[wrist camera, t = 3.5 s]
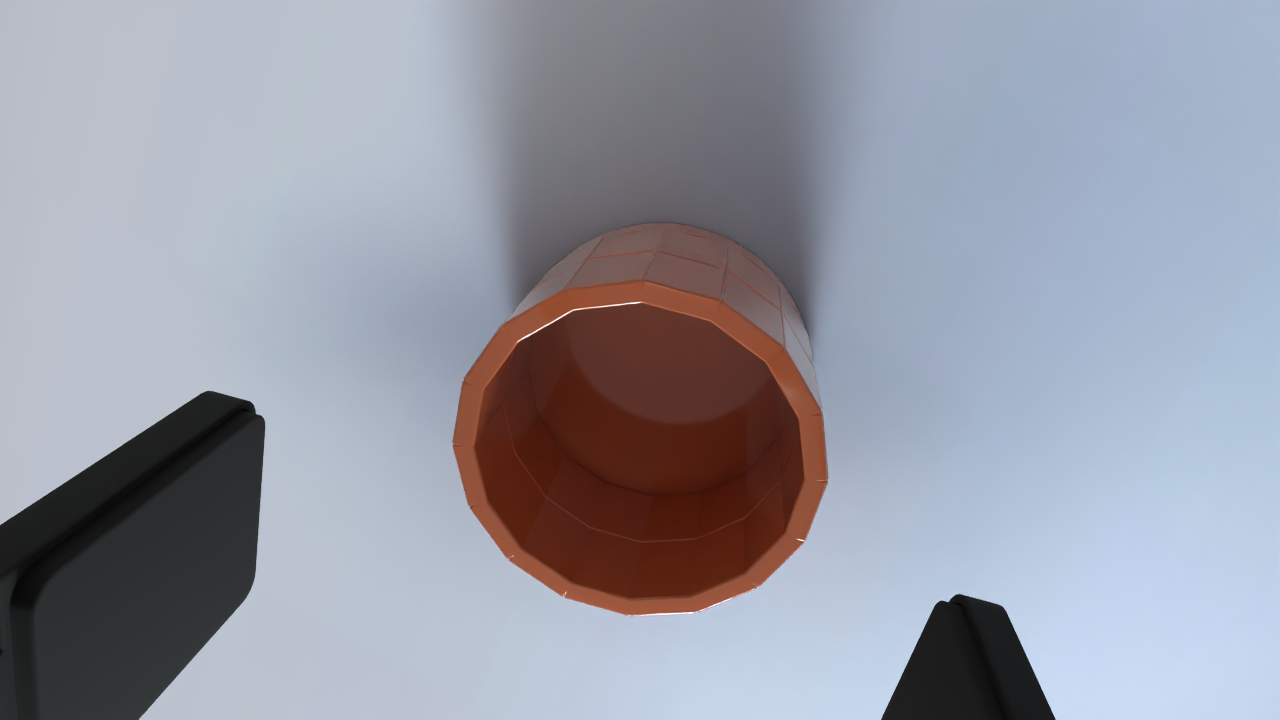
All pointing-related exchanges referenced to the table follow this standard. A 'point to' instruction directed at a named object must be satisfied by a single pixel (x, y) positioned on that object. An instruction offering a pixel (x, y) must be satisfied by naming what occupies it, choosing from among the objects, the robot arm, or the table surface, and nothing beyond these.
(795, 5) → the table surface
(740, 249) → the small cup
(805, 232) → the table surface
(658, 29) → the table surface
